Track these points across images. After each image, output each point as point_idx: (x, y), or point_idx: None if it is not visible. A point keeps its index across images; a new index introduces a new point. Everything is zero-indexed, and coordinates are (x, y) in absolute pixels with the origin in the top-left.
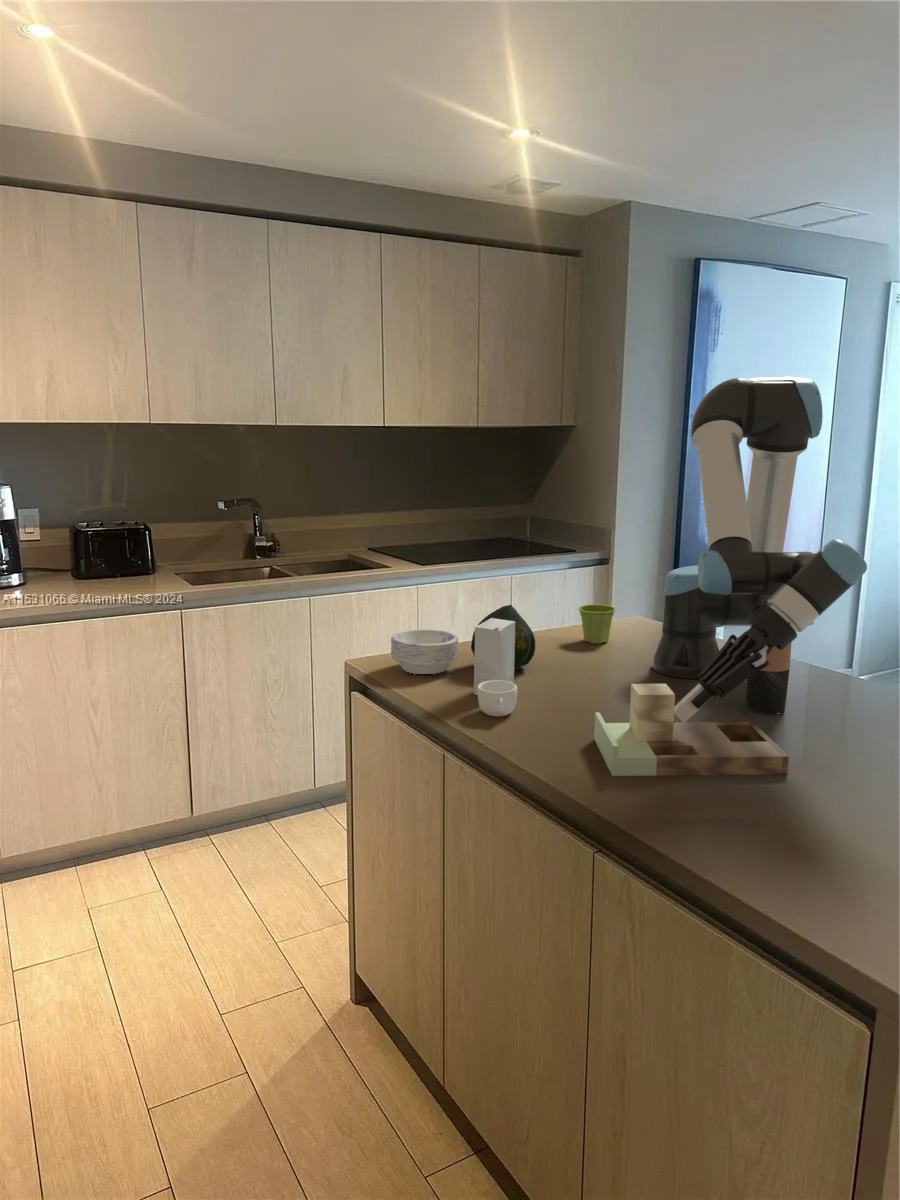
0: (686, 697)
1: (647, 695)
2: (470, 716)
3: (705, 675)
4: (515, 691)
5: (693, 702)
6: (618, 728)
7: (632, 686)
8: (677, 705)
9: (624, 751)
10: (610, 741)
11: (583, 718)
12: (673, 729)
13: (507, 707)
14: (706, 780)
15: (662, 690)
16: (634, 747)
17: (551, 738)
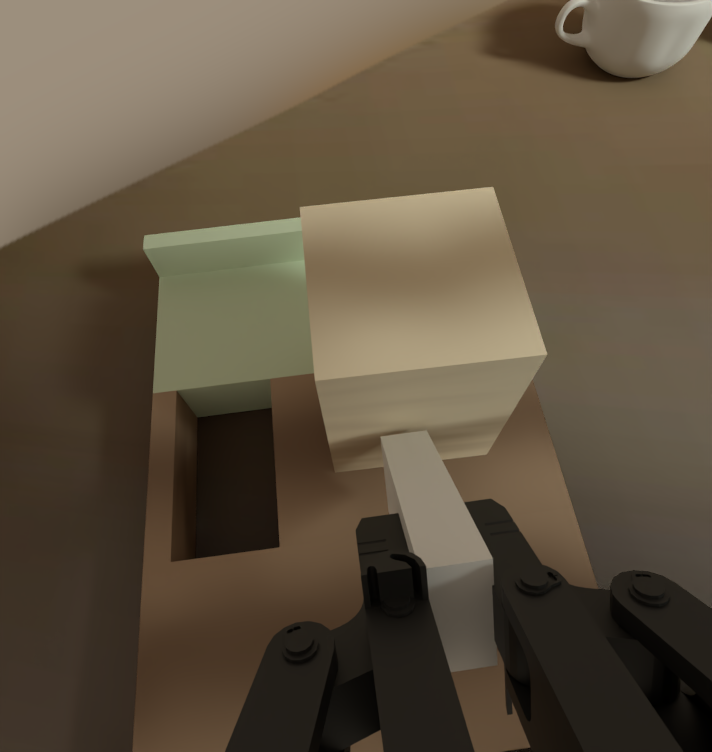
0: (425, 485)
1: (303, 246)
2: (575, 18)
3: (574, 622)
4: (651, 12)
5: (363, 524)
6: None
7: (454, 193)
8: (416, 450)
9: (216, 298)
10: (191, 230)
11: (667, 241)
12: (474, 493)
13: (600, 45)
14: (122, 593)
15: (394, 321)
16: (254, 330)
17: (456, 168)
